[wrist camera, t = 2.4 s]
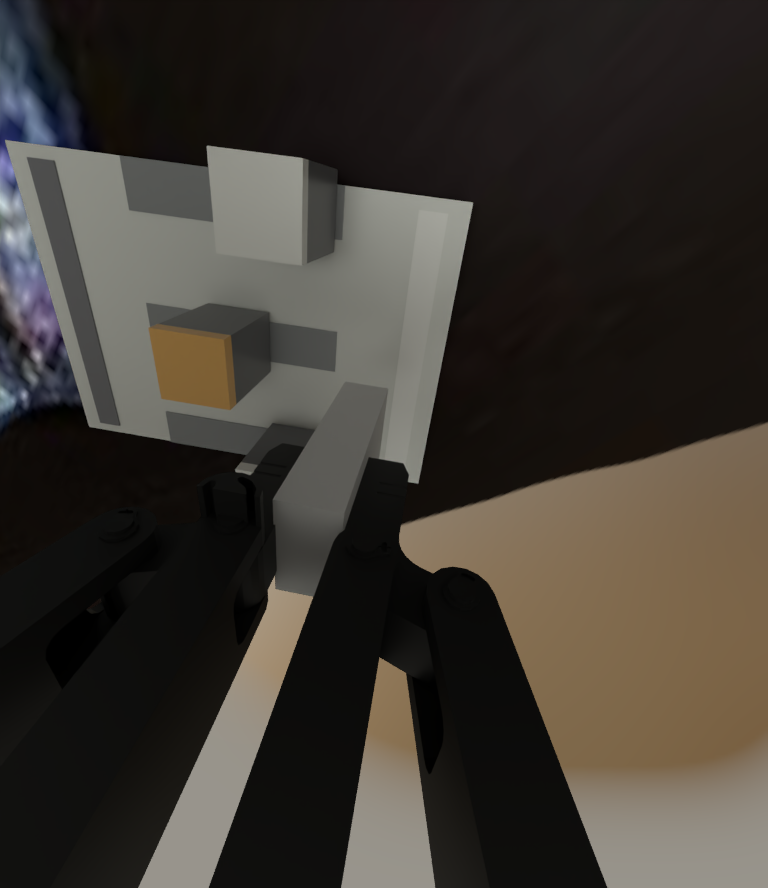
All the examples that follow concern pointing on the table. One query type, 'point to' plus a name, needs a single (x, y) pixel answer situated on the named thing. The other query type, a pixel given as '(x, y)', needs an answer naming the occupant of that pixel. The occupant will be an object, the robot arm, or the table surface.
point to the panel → (240, 298)
